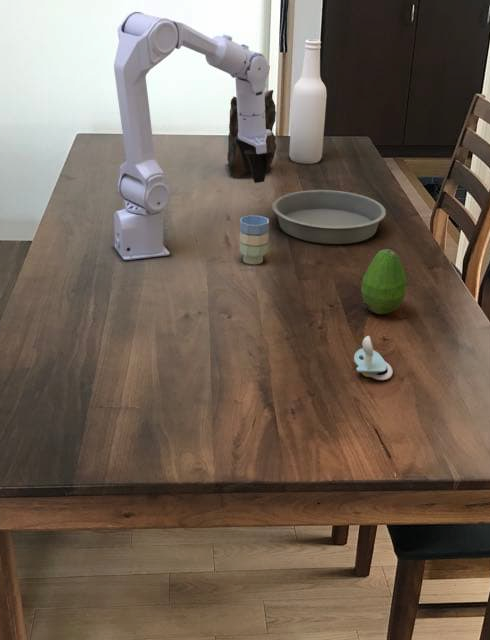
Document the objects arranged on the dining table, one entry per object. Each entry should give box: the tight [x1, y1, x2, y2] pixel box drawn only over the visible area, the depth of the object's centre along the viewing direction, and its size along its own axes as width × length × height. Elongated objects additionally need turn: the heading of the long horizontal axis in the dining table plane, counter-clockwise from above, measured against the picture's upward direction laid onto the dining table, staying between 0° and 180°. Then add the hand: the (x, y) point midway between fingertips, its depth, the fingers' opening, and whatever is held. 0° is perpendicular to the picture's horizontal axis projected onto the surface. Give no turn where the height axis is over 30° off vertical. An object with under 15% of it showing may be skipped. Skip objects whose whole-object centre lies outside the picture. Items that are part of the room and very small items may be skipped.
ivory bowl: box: [239, 230, 269, 246], centre depth 176 cm, size 6×6×4 cm
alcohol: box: [288, 38, 328, 165], centre depth 231 cm, size 9×9×30 cm
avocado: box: [360, 248, 408, 315], centre depth 157 cm, size 8×8×12 cm
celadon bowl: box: [238, 241, 269, 265], centre depth 177 cm, size 6×6×4 cm
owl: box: [227, 89, 277, 179], centre depth 222 cm, size 13×13×20 cm
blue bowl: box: [239, 214, 270, 236], centre depth 175 cm, size 6×6×4 cm
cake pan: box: [271, 189, 387, 245], centre depth 195 cm, size 25×25×4 cm
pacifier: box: [353, 335, 394, 381], centre depth 139 cm, size 7×6×6 cm
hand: (254, 175), depth 191 cm, fingers open, 7 cm apart
